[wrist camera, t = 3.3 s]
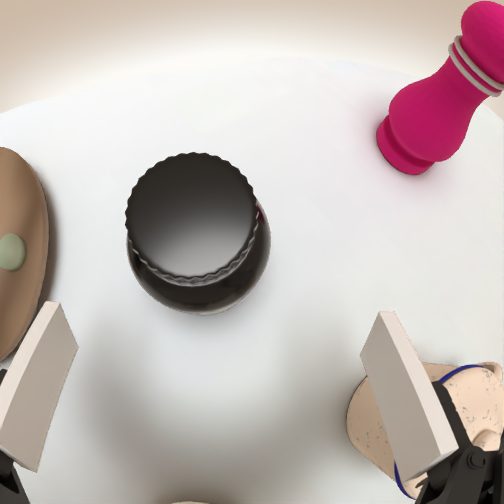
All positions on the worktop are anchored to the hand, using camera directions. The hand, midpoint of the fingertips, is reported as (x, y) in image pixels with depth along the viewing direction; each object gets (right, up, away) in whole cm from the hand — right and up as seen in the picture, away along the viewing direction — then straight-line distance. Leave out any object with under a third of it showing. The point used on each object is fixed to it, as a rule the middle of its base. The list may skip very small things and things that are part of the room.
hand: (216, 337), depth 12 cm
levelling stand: (-24, +3, +8) cm, 25 cm away
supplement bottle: (-2, +2, +10) cm, 11 cm away
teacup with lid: (+14, -9, +9) cm, 19 cm away
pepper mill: (+16, +13, +15) cm, 26 cm away
